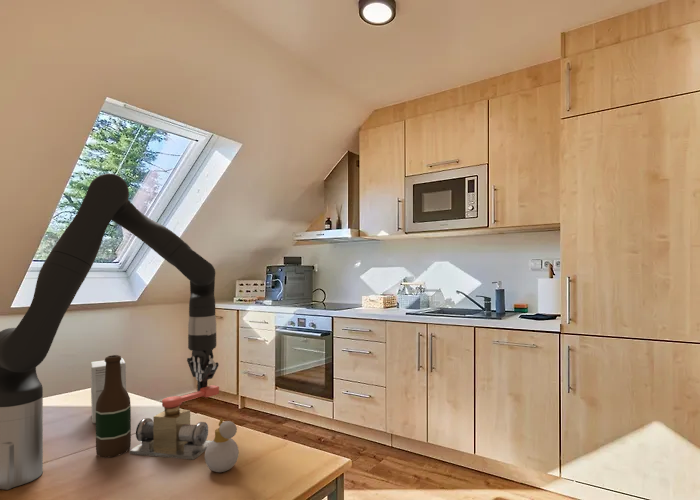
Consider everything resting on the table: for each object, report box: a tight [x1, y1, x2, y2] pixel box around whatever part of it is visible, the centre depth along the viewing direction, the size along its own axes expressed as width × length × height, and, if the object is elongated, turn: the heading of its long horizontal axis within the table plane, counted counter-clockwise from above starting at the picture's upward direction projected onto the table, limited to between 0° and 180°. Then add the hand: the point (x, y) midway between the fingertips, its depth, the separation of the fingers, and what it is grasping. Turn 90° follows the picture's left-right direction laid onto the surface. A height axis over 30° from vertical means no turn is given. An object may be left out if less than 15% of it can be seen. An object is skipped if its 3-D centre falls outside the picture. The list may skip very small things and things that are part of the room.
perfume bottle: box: [204, 417, 240, 473], centre depth 99 cm, size 8×10×12 cm
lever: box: [161, 384, 220, 408], centre depth 115 cm, size 15×5×2 cm, turn 142°
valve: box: [128, 405, 213, 460], centre depth 111 cm, size 9×18×11 cm, turn 77°
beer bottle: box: [95, 354, 132, 459], centre depth 110 cm, size 8×8×24 cm
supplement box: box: [90, 357, 127, 424], centre depth 136 cm, size 10×9×17 cm
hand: (202, 393), depth 122 cm, fingers closed
